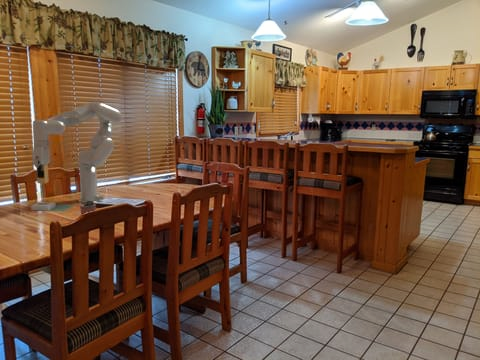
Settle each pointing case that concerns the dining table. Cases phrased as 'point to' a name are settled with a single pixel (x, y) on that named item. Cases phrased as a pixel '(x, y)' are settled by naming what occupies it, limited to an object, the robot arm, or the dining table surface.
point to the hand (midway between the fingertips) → (42, 176)
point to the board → (49, 206)
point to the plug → (45, 179)
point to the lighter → (87, 206)
